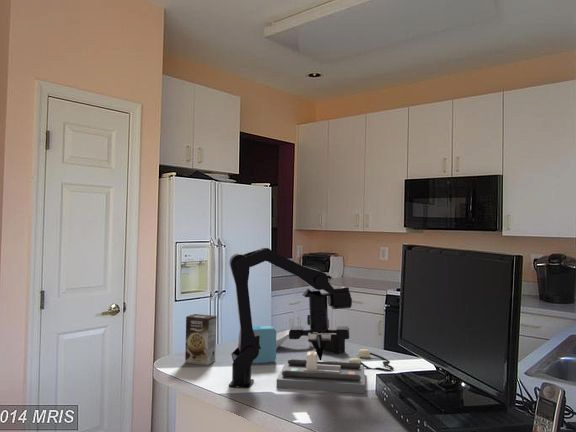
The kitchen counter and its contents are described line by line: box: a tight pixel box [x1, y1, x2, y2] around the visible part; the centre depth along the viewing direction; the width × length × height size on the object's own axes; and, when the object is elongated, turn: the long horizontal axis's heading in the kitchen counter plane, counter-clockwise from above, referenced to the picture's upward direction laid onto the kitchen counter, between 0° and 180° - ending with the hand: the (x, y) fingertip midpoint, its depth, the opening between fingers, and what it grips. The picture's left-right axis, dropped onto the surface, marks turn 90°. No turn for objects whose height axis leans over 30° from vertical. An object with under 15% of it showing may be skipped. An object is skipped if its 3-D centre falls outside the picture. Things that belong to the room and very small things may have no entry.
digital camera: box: [319, 332, 346, 355], centre depth 181 cm, size 10×5×7 cm, turn 50°
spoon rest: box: [276, 329, 314, 349], centre depth 186 cm, size 24×12×7 cm, turn 97°
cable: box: [347, 348, 395, 372], centre depth 165 cm, size 16×16×4 cm
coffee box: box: [184, 313, 217, 366], centre depth 164 cm, size 9×6×16 cm
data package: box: [252, 325, 277, 364], centre depth 165 cm, size 12×4×12 cm, turn 106°
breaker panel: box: [276, 358, 366, 394], centre depth 146 cm, size 18×26×4 cm
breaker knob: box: [306, 350, 318, 370], centre depth 146 cm, size 4×3×6 cm
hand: (320, 360), depth 146 cm, fingers closed
